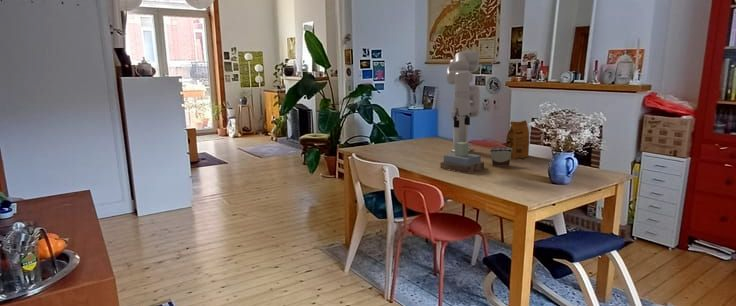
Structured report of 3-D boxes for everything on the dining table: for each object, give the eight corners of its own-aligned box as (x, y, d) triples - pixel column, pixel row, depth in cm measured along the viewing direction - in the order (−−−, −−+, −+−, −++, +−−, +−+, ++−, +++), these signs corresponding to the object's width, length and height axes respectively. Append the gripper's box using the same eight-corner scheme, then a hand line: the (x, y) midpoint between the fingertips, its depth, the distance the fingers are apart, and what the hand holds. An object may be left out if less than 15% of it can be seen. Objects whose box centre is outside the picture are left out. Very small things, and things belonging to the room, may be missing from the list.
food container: (510, 163, 272) (510, 146, 270) (512, 165, 266) (512, 148, 264) (488, 163, 273) (488, 146, 271) (489, 166, 267) (490, 148, 265)
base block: (457, 164, 277) (457, 157, 276) (484, 169, 264) (484, 162, 263) (440, 169, 266) (440, 162, 265) (467, 174, 253) (467, 167, 252)
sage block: (460, 153, 267) (460, 141, 265) (468, 155, 263) (468, 142, 262) (455, 155, 263) (455, 143, 262) (462, 156, 260) (462, 144, 258)
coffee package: (503, 156, 291) (504, 120, 286) (521, 154, 294) (522, 119, 289) (512, 159, 281) (513, 122, 277) (530, 157, 284) (532, 121, 280)
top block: (457, 158, 273) (457, 151, 273) (480, 162, 262) (480, 155, 261) (443, 162, 266) (443, 155, 265) (467, 166, 254) (467, 159, 253)
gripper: (465, 93, 265) (465, 123, 268) (446, 96, 253) (446, 127, 257) (477, 93, 259) (476, 124, 263) (458, 96, 248) (458, 129, 252)
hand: (461, 126), depth 260 cm, fingers open, 9 cm apart
